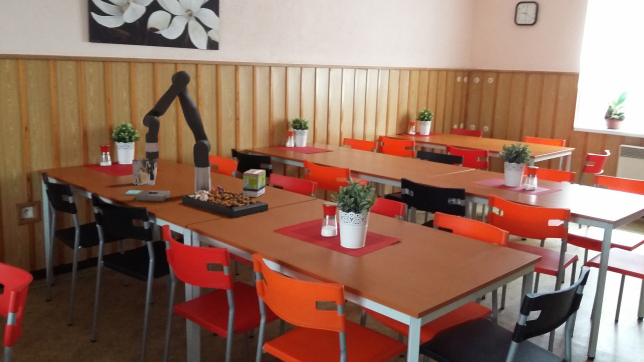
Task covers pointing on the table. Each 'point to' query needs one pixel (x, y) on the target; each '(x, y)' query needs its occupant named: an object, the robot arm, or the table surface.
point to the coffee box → (140, 171)
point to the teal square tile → (133, 192)
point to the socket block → (152, 195)
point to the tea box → (254, 182)
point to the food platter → (224, 202)
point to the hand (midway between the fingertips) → (153, 179)
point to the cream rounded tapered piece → (152, 182)
